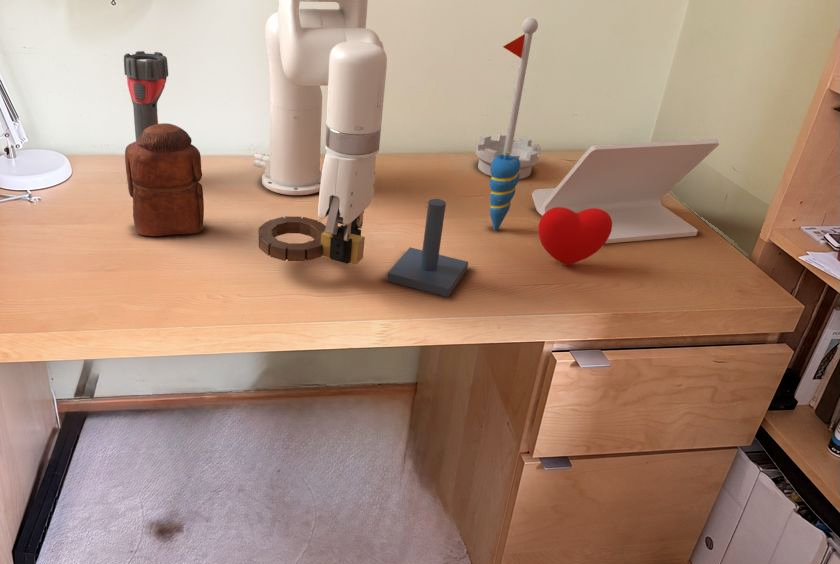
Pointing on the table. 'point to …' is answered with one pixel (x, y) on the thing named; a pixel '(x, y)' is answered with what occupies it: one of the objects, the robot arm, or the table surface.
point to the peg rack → (429, 259)
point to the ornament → (502, 186)
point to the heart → (574, 233)
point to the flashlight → (145, 86)
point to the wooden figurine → (165, 182)
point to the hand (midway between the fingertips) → (344, 255)
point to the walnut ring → (302, 250)
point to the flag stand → (513, 116)
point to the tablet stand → (629, 186)
